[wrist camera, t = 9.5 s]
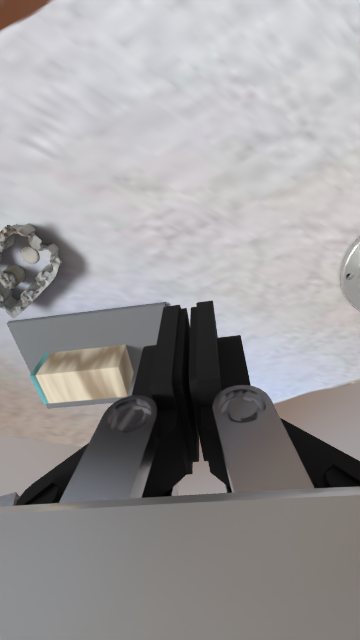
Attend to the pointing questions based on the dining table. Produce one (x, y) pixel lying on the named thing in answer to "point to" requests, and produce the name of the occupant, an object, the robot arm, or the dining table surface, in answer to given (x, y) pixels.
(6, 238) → the grey jagged stone ring
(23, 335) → the rubber mat
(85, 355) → the birch block
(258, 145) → the dining table surface
